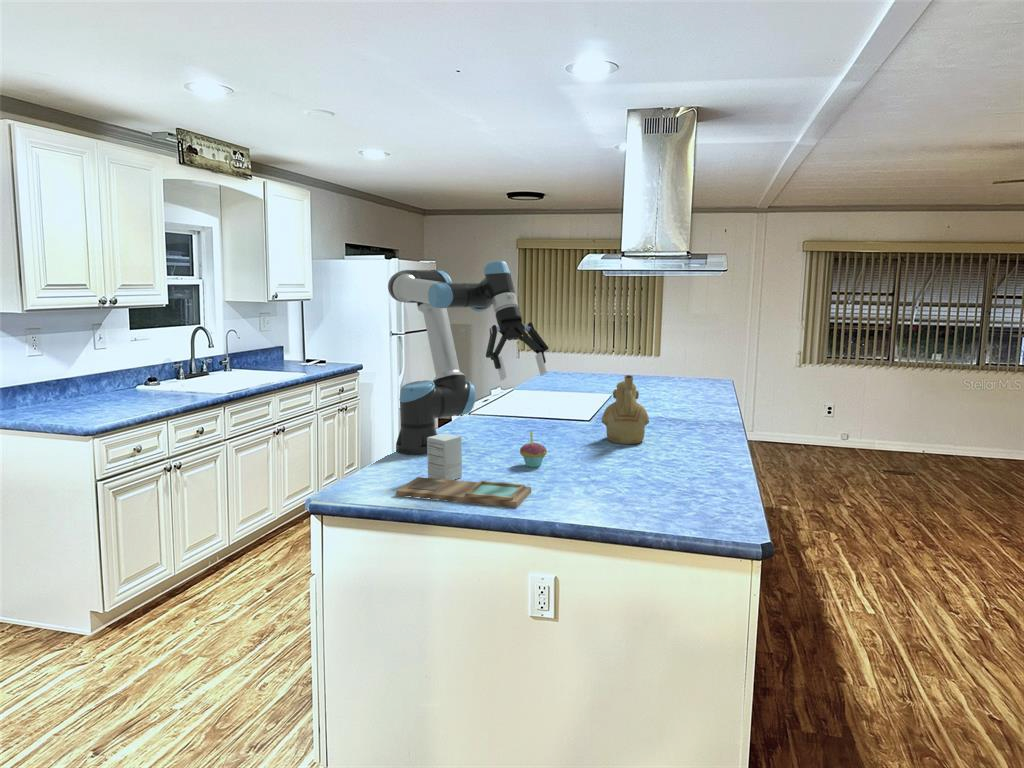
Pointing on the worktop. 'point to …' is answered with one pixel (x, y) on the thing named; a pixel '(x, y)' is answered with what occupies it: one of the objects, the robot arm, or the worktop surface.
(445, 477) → the supplement box
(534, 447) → the cupcake
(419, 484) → the board
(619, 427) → the ceramic vessel
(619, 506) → the worktop surface
